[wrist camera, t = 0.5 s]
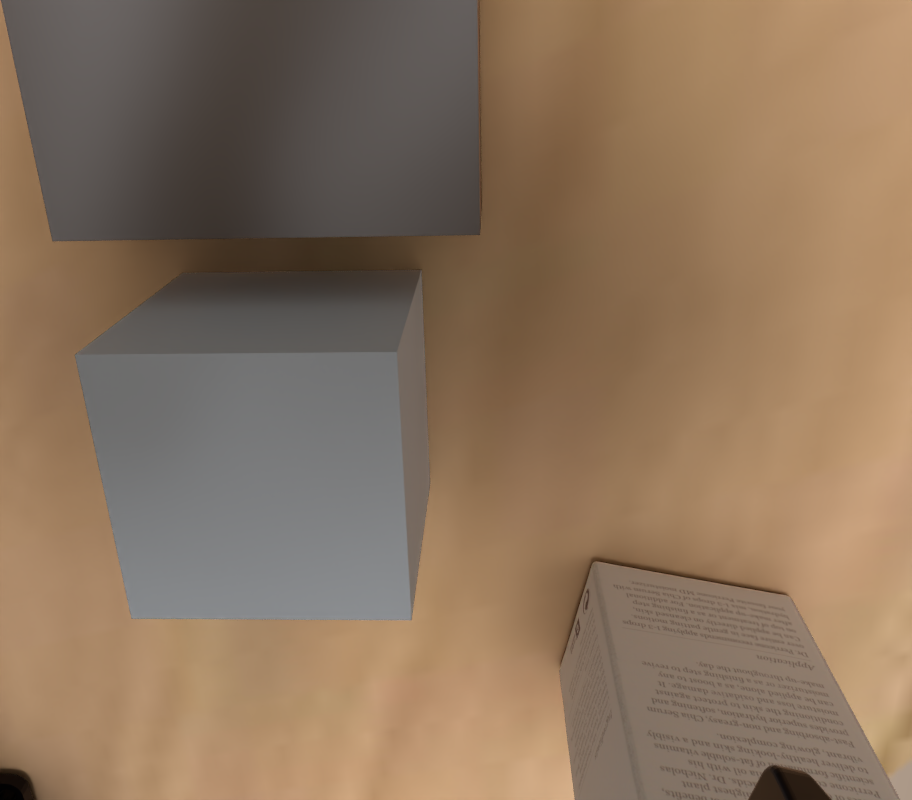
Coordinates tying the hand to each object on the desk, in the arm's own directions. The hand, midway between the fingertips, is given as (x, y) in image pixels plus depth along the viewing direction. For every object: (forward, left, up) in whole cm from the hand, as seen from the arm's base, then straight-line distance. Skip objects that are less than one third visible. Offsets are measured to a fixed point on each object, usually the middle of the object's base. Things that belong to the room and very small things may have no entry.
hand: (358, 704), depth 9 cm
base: (-3, +7, -13) cm, 15 cm away
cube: (-3, -2, -13) cm, 14 cm away
